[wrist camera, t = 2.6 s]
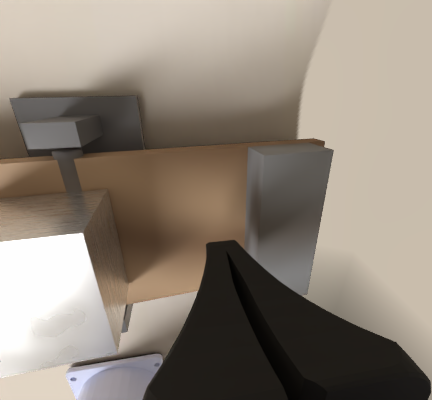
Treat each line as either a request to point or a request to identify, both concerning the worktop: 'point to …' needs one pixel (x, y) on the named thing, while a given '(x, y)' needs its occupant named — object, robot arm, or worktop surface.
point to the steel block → (59, 281)
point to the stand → (80, 129)
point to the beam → (195, 205)
